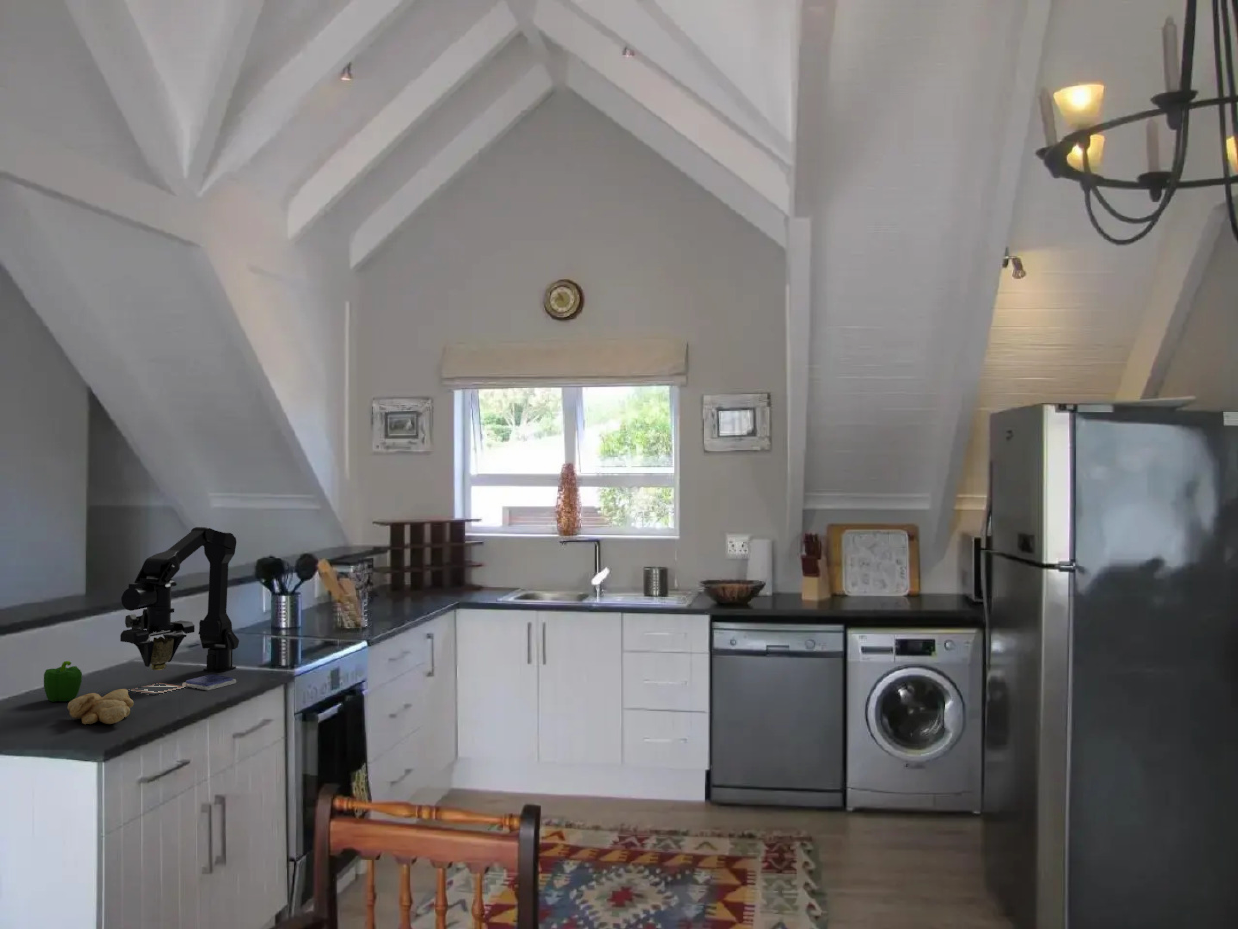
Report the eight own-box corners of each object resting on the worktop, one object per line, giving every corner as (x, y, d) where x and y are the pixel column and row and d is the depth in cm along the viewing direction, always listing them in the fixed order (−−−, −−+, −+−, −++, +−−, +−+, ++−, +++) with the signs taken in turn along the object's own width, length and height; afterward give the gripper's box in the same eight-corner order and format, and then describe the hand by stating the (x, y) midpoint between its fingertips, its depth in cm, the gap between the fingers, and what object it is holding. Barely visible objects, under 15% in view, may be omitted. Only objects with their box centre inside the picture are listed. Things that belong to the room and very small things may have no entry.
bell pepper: (40, 699, 239) (41, 659, 239) (77, 694, 244) (78, 655, 244) (46, 706, 232) (47, 665, 232) (84, 701, 238) (85, 661, 238)
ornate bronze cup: (166, 664, 256) (166, 635, 256) (179, 669, 252) (179, 638, 252) (137, 669, 251) (137, 639, 251) (150, 674, 246) (150, 643, 246)
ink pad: (211, 679, 263) (211, 673, 263) (236, 683, 260) (236, 677, 260) (182, 686, 255) (182, 680, 255) (207, 690, 251) (207, 684, 251)
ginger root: (78, 705, 228) (86, 673, 228) (144, 721, 229) (152, 689, 229) (43, 726, 213) (52, 691, 213) (114, 743, 214) (123, 708, 214)
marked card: (159, 683, 257) (159, 682, 257) (186, 687, 253) (186, 686, 253) (127, 691, 249) (127, 689, 249) (155, 695, 245) (155, 694, 245)
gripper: (167, 598, 263) (166, 654, 263) (105, 607, 246) (105, 667, 246) (196, 601, 258) (195, 659, 258) (136, 610, 241) (135, 672, 241)
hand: (158, 664), depth 251 cm, fingers closed on ornate bronze cup, 6 cm apart
